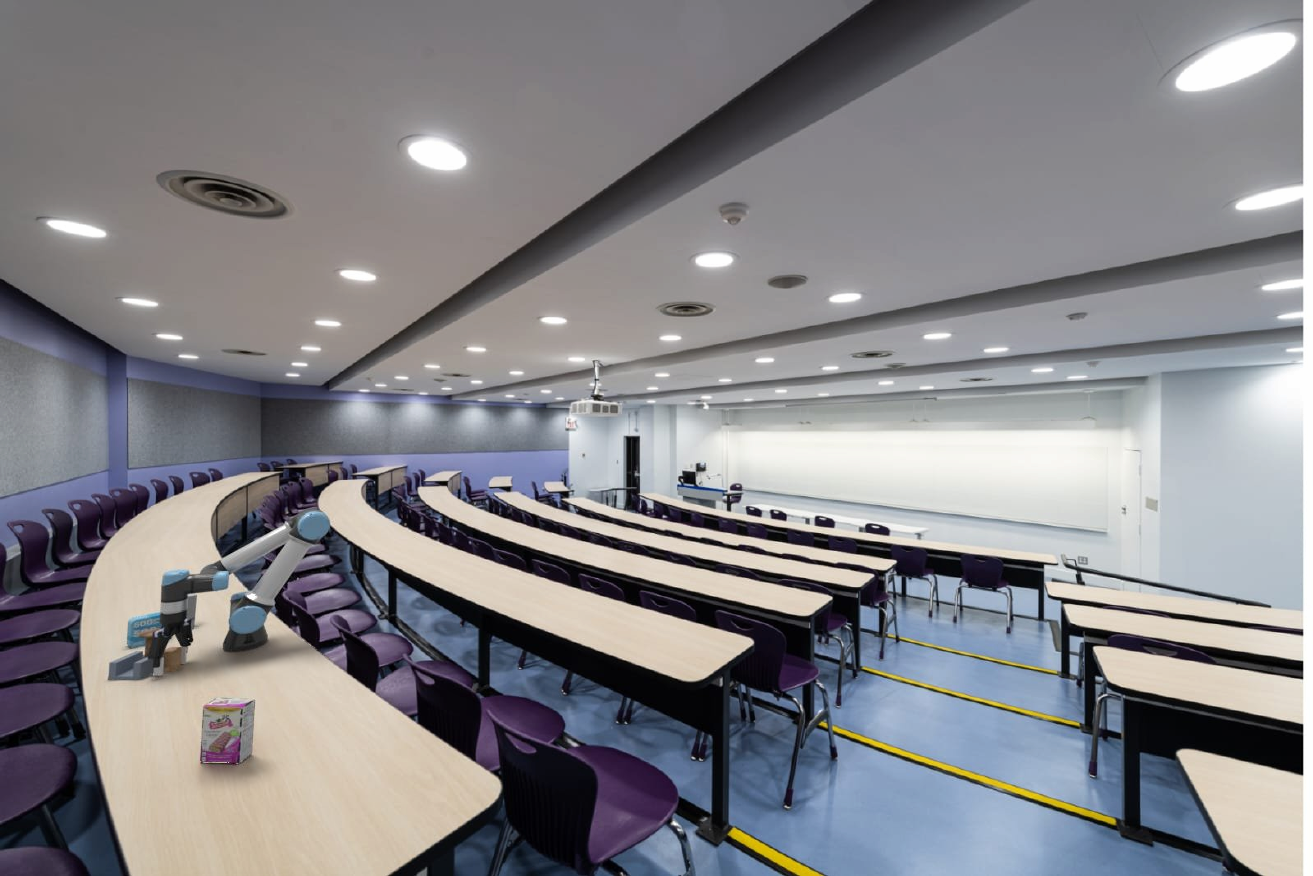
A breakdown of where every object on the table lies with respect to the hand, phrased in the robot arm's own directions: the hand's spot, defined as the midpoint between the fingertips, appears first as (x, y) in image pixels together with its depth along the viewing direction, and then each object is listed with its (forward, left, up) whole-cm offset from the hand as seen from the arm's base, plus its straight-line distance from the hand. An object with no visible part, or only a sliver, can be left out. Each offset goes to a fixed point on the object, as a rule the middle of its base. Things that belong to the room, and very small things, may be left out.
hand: (170, 669), depth 187 cm
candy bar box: (-62, +53, -1) cm, 82 cm away
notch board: (+9, +3, 0) cm, 9 cm away
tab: (0, 0, 0) cm, 0 cm away
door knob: (+15, -9, 0) cm, 17 cm away
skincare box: (+30, -40, 0) cm, 50 cm away
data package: (+30, -24, -1) cm, 38 cm away
